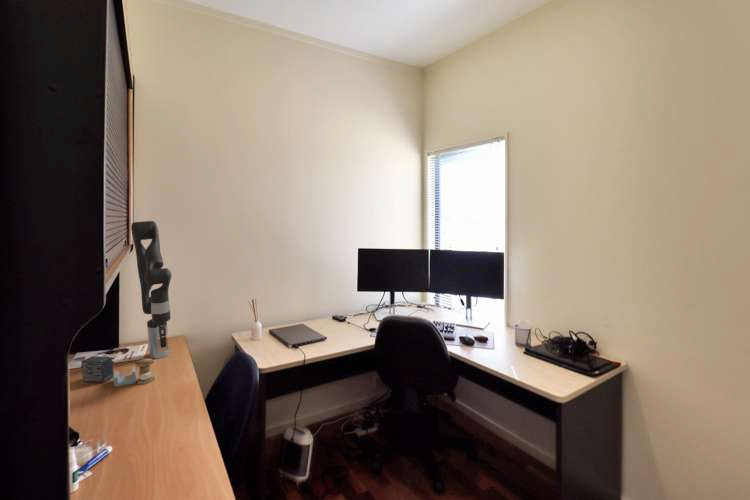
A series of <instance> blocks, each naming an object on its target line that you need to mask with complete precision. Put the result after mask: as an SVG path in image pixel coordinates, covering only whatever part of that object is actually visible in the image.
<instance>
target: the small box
mask: <svg viewBox="0 0 750 500" xmlns="http://www.w3.org/2000/svg"><path fill="white" fill-rule="evenodd" d="M113 365H114V364H113V357H112V356H99V355H98V356H97V355H91V356H89V357H87V358H85V359H82V360H81V368H82V369H81V370H82V377H83V378H82V379H83V383H95V384H96V383H97V384H104V383H106V382H108V381H110V380H111V379H113V378H114V368H113Z"/></svg>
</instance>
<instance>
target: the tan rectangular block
mask: <svg viewBox="0 0 750 500" xmlns="http://www.w3.org/2000/svg"><path fill="white" fill-rule="evenodd" d="M162 337H165V336H162ZM168 345H169V335H168V336H166V347H163V348H161V343H160V337H158V347H159V351H163V350H169V351H170V348H168Z"/></svg>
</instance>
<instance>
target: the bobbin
mask: <svg viewBox="0 0 750 500" xmlns="http://www.w3.org/2000/svg"><path fill="white" fill-rule="evenodd" d="M153 363H154V358H150V357H149V358H143V359H140V360H136V362H135V367H136V368H139V372H138V378H136V384H138V385H147V384H150V383H151V382H154V381H155V375H153V374H152V369H151V365H152V364H153Z"/></svg>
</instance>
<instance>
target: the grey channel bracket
mask: <svg viewBox="0 0 750 500" xmlns="http://www.w3.org/2000/svg"><path fill="white" fill-rule="evenodd" d="M113 376H114V377H113V378H112V379H113V385H114V388H118V387H122V386H126V385H127V386H128V385H132V384H137V367H136V366H135V367H132V369H131V374H128V375H122V376H120V371H119V370H114V373H113Z"/></svg>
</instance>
